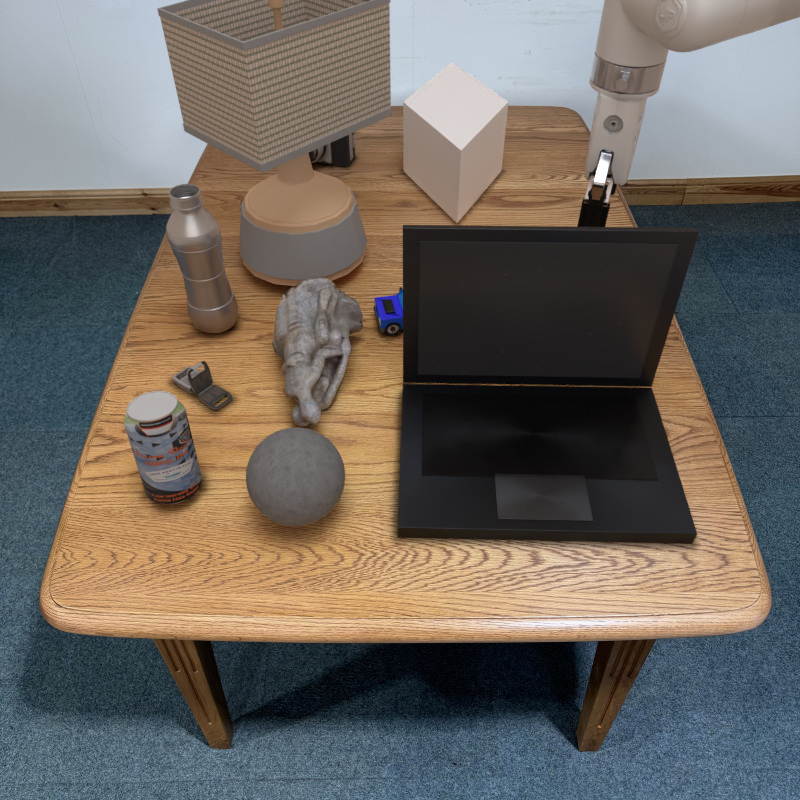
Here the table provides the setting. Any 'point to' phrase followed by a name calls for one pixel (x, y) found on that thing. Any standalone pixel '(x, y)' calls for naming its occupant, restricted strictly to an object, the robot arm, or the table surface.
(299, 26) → the desk lamp
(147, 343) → the table surface
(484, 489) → the laptop
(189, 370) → the strap clip
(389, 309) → the toy car
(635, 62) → the robot arm
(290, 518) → the decorative ball
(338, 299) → the sculpture
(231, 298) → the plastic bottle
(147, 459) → the beverage can
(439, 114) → the block
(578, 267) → the laptop screen
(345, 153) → the camera
